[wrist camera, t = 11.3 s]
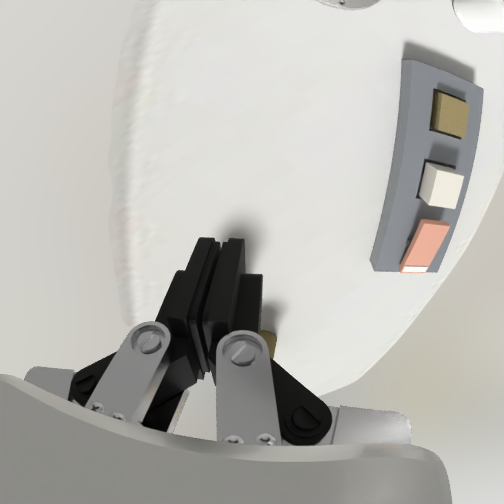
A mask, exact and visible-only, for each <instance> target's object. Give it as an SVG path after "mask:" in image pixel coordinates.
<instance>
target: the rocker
mask: <svg viewBox="0 0 504 504" xmlns="http://www.w3.org/2000/svg"><path fill="white" fill-rule="evenodd" d="M449 228H450V225H449V223H448V222H445V221H437V220H428V219H421V221H420V223H419V226H418V228H417V230H416V233H415V235H414V237H413V239H412V241H411V244H410V246H409V248H408V250H407V252H406V254H405V256H404V258H403V260H402V262H401V264H400V266H399V270H400V273H425V272H426V270H427V269H428V267H429V265H430V264H431V262H432V260H433V258H434V256H435V255H436V253H437V251H438V249H439V247H440V245H441V244H442V242H443V240H444V238H445V236H446V234H447V232H448V230H449Z"/></svg>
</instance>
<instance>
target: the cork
mask: <svg viewBox="0 0 504 504" xmlns="http://www.w3.org/2000/svg"><path fill="white" fill-rule="evenodd" d="M260 336H261V337H263V339H264V340H265V341H266V343H267V346H268V349H269V356H270V357H271V358H272V359H273V357H274V352H275V347H276V341H277V338H276V336H275V335H274V334H273V333H271V332H268V331H260Z"/></svg>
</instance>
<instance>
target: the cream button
mask: <svg viewBox="0 0 504 504" xmlns="http://www.w3.org/2000/svg"><path fill="white" fill-rule="evenodd" d="M463 179H464V176H463V175H462V174H460V173H459V172H457V171H456V170H454V169H453V168H450V167H446V166H442V165H437V164H433V163H428V162H426V165H425V170H424V174H423V179H422V183H421V188H420V192H419V196H420V197H421V198H422V199H423V200H424V201H425V202H426V203H427V204H428V205H430V206H437V207H444V208H451V209H455V208H456V205H457V201H458V198H459V194H460V191H461V187H462V183H463Z"/></svg>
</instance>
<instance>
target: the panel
mask: <svg viewBox="0 0 504 504" xmlns="http://www.w3.org/2000/svg"><path fill="white" fill-rule="evenodd" d="M483 91H484V89H483V88H481V87H479V86H477V85H475V84H473V83H471V82H469V81H466V80H464V79H462V78H460V77H458V76H455V75H453V74H451V73H448V72H446V71H443V70H441V69H438V68H435V67H433V66H430V65H427V64H424V63H422V62H419V61H416V60H412V59H409V60H402V70H401V90H400V103H399V114H398V123H397V131H396V139H395V146H394V153H393V159H392V165H391V171H390V177H389V182H388V187H387V192H386V197H385V202H384V206H383V211H382V215H381V219H380V223H379V227H378V231H377V235H376V239H375V243H374V247H373V250H372V254H371V257H370V262H371V264H372V267H373V269H374V271H380V272H400V270H399V266H400V264H401V262H402V260H403V258H404V256H405V254H406V252H407V250H408V248H409V246H410V244H411V241H412V239H413V237H414V235H415V233H416V230H417V228H418V226H419V223H420V221H421V219H428V220H437V221H445V222H448V223H449V225H450V228H449V230H448V232H447V234H446V236H445V238H444V240H443V242H442V244H441V245H440V247H439V249H438V251H437V253H436V255H435V256H434V258H433V260H432V262H431V264H430V265H429V267H428V269H427V270H426V272H438V270H439V267H440V265H441V263H442V260H443V258H444V255H445V253H446V250H447V248H448V245H449V243H450V240H451V238H452V235H453V232H454V229H455V226H456V224H457V221H458V218H459V215H460V211H461V208H462V205H463V202H464V198H465V195H466V191H467V188H468V184H469V180H470V176H471V172H472V167H473V163H474V158H475V153H476V148H477V142H478V136H479V130H480V122H481V114H482V104H483ZM433 92H437V93H442V94H445V95H448V96H450V97H453V98H455V99H458V100H460V101H463V102H465V103H468V104H469V114H468V122H467V129H466V136H465V138H462V137H459V136H456V135H453V134H450V133H447V132H443V131H440V130H437V129H435V128H432V127H430V119H431V110H432V99H433ZM426 162H428V163H433V164H437V165H442V166H446V167H450V168H453V169H454V170H456V171H457V172H459V173H460V174H462V175H463V176H464V179H463V183H462V187H461V191H460V194H459V198H458V201H457V205H456V208H455V209H451V208H444V207H437V206H430V205H428V204H427V203H426V202H425V201H424V200H423V199H422V198H421V197H420V196H419V192H420V188H421V183H422V179H423V174H424V170H425V165H426Z"/></svg>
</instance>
